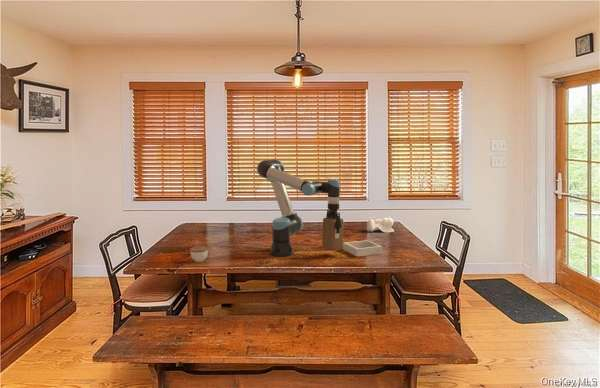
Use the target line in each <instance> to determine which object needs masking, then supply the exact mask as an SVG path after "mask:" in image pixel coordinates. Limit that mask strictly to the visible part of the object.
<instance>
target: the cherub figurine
mask: <svg viewBox="0 0 600 388" xmlns="http://www.w3.org/2000/svg"><path fill="white" fill-rule="evenodd" d="M394 223H395V221H394V219H393V218H392V217H383V218H382V219H380V218H376V219H375V220H373V219H372V218H369V219H368V226H369V231H370V232H371V233H373V232H374V231H375V230H376V229H379V230H380V231H381V232H383V233H386V234H388V233H389V234H390V233H394V232H395V230H394V229H393V225H394Z"/></svg>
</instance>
